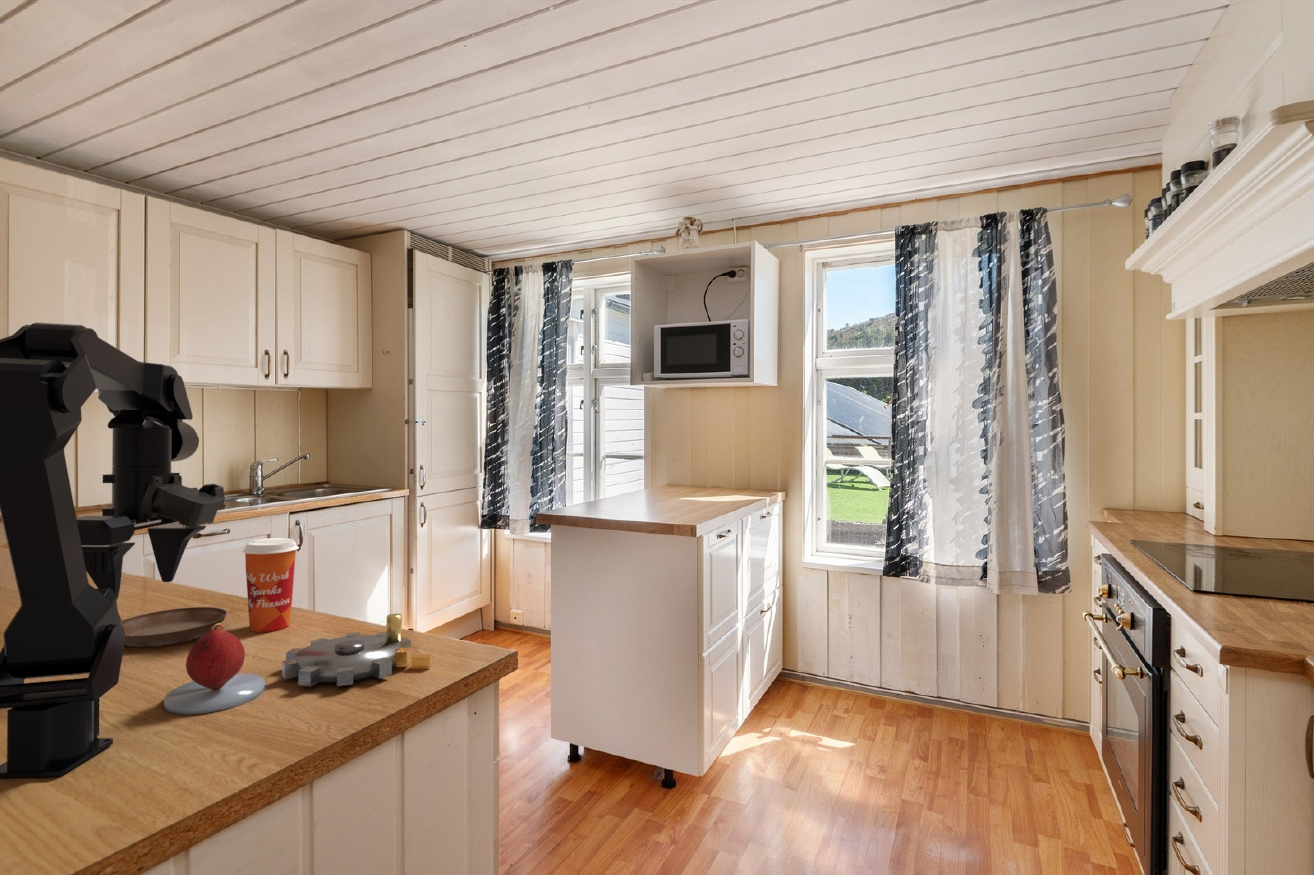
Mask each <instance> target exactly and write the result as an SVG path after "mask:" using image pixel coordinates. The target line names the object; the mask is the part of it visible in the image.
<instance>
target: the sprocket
mask: <svg viewBox="0 0 1314 875" xmlns="http://www.w3.org/2000/svg"><path fill="white" fill-rule="evenodd" d="M402 616H403V615H402V614H401V613H390V614H388V615H386V630H385V631H386V632H384V631H381V632H380V633H377V634H361V632H347V633H346V634H345V635H346V636H341V637H335V638H331V639H328V638H325V637H321V638H316V639H313V640H310V644H309V645H307V646H306V647H304V648H302V647H301V648H296V647H295V648H292V649H290V650H288V651H287V652H286V653H285V659H284V660H282V661H281V675H282V677H283V679H284V680H287V679H292V678H297V677H298V678H297V679H298V681H297V682H298V683H297V684H298V686H304V687H312V686H314V685H317V684H318V683H336V687H342V686H350V685H351V686H352V685H353V684H354V681H355V680H361V679H365V678H369V677H375V678H378V679H381V678H384V677H387V676H389V675H392V674H393V672H392V671H393V668H394V667H396V666H408V665H409V663H411V662H412V647H411V644H412V641H411V639H410V638H408V637H402V635H403V634H402V630H403V629H402V626H403V624H402V623H403V618H402Z"/></svg>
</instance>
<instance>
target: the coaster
mask: <svg viewBox="0 0 1314 875" xmlns="http://www.w3.org/2000/svg"><path fill="white" fill-rule="evenodd" d="M265 682H266V681H265V679H264V677H262V676H260V675H258V674H255V673H253V674H252V673H237V674H236V675H235V676H234V677H233V678H231V679H230V680H229V681H228V682H227V683H226V684H225V685H224V686H223V687H222V688H220V689H218V690H212V689H209V688H206V687H204V686H201V685H199V684H197V683H196V682H194V681H193V680H192V681H190V682H187V683H185V684H182V685H180V686H177V687H175V688H173V689H172V690H170V691H169V692H168V693H167V694H166V695H165V697H164V699H163V700H164V703H163V705H164V706H163V707H164V709H165V711H167V712H169V713H173V714H179V715H198V714H207V713H213V712H214V713H215V712H219V711H224V710H228V709H231V708H235V707H237V706H240V705H241V706H242V705H244V704H245V703H248V702H250V701H252V700H255V699H256V698H258V697H259V696H260V695H261V694H263V692H264V691H265V687H266V684H265Z"/></svg>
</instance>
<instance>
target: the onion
mask: <svg viewBox="0 0 1314 875" xmlns="http://www.w3.org/2000/svg"><path fill="white" fill-rule="evenodd" d="M224 628H225V625H224V624H223V623H222V622H221V623H217V624H215V625H214V626H213V627H212V628H211V629H210V631H209V632H208V633H207V634H205V635H204V636H202V637H200V638H198V640H197V641H196V642H195V643H194V645H192V647H191V649H190V650H189V652H188V654H187V656H186V662H185V668H186V673H187V676H189V678H190V679H191V680H192V682H193V681H194V682H196V683H197V684H199V685H201V686H204V687H206V688H209V689H212V690H218V689H220V688H222V687H223V686H224V685H225V684H226V683H227V682H228V681H229V680H230V679H231V678H233V677H234V676H235V675H236V674H239V673H240V671H241V669H242V667H243V665H244V663H245V657H246V651H245V647H244V645H243V642H242V641H241V640H240V639H239V638H238V637H237V636H235V634H233V633H230V632H228V631H226V630H224Z"/></svg>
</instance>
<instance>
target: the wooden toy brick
mask: <svg viewBox="0 0 1314 875" xmlns="http://www.w3.org/2000/svg"><path fill="white" fill-rule="evenodd" d="M431 667H433V654H427V653H426V654H425V653H424V654H421V653H419V654H413V655H412V656H411V670H431Z"/></svg>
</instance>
